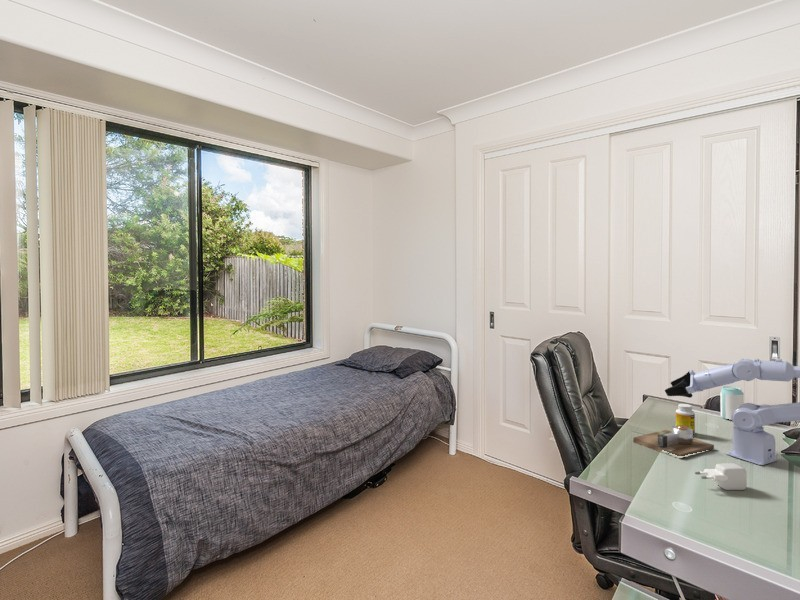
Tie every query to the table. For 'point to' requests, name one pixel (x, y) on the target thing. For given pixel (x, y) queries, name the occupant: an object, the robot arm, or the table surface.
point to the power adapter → (727, 476)
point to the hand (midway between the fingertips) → (669, 389)
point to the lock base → (676, 449)
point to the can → (730, 401)
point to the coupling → (676, 436)
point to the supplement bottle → (685, 416)
